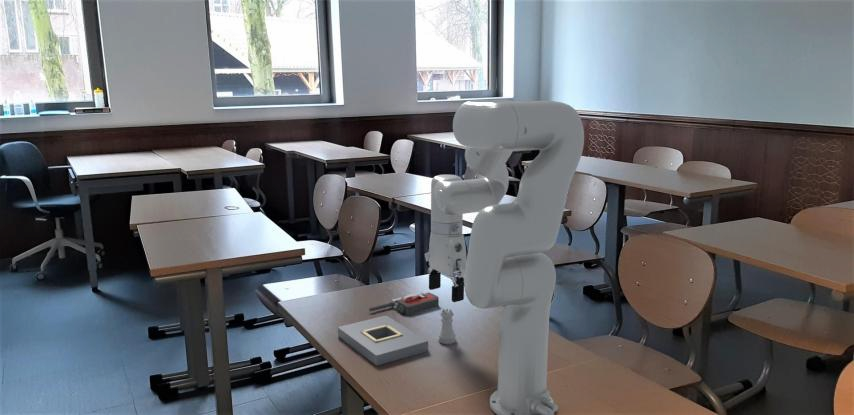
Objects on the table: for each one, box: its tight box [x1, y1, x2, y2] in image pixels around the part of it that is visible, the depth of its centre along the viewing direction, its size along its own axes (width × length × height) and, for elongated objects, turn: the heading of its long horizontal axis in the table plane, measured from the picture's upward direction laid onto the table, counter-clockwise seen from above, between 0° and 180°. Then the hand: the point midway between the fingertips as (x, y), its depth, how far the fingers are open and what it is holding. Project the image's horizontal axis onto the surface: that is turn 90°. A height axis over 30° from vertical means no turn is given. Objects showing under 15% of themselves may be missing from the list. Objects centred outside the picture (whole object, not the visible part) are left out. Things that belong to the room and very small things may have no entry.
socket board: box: [337, 315, 429, 366], centre depth 156 cm, size 20×14×3 cm
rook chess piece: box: [437, 308, 457, 345], centre depth 156 cm, size 4×4×8 cm
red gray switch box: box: [368, 291, 440, 316], centre depth 179 cm, size 9×4×20 cm
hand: (445, 294), depth 155 cm, fingers open, 9 cm apart
